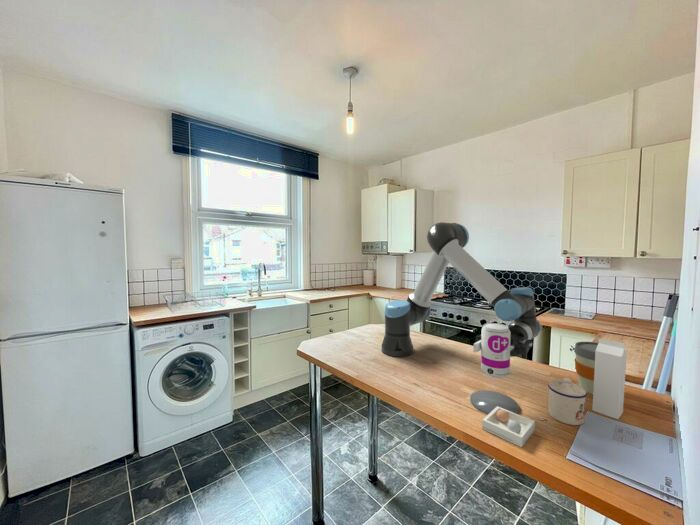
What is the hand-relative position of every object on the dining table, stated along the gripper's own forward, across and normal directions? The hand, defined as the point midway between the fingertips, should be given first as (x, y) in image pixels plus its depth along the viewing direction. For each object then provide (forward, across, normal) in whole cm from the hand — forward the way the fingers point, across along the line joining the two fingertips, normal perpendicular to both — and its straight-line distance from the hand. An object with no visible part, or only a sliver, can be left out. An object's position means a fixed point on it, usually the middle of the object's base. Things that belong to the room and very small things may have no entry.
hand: (489, 351), depth 89 cm
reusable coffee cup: (-40, -20, -19) cm, 48 cm away
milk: (-26, -25, -19) cm, 40 cm away
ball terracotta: (+4, -6, -16) cm, 18 cm away
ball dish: (+5, -8, -18) cm, 21 cm away
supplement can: (-5, 0, -8) cm, 9 cm away
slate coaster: (-5, 0, -18) cm, 19 cm away
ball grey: (+7, -10, -16) cm, 20 cm away
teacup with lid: (-15, -17, -19) cm, 29 cm away
